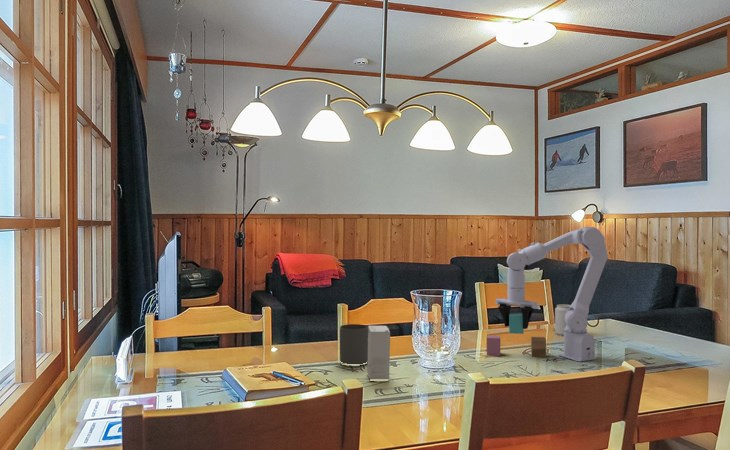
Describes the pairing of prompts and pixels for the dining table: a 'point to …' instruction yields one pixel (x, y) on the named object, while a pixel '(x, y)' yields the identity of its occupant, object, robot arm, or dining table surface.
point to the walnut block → (538, 347)
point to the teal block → (516, 323)
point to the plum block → (493, 345)
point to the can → (560, 318)
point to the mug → (354, 344)
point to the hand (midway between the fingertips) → (516, 327)
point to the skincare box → (378, 352)
